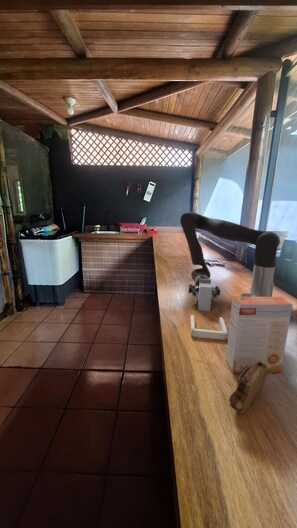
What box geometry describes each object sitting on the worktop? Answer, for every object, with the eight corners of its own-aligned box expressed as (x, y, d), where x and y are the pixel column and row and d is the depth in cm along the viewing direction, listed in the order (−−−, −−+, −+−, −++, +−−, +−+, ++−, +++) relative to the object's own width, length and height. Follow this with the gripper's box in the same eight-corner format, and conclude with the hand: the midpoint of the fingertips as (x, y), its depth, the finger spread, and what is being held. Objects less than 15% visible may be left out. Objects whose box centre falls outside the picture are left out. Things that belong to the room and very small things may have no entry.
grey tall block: (209, 304, 110) (212, 279, 107) (211, 311, 104) (213, 284, 100) (196, 303, 111) (198, 278, 108) (197, 310, 104) (199, 283, 101)
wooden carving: (248, 379, 63) (253, 346, 61) (266, 387, 61) (272, 353, 58) (222, 419, 51) (227, 380, 49) (243, 432, 48) (250, 391, 46)
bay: (222, 323, 93) (222, 317, 92) (227, 340, 82) (227, 333, 81) (190, 320, 95) (190, 314, 94) (190, 336, 83) (191, 330, 83)
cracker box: (269, 360, 72) (281, 295, 66) (281, 373, 66) (294, 304, 61) (224, 359, 71) (232, 295, 66) (231, 373, 65) (240, 303, 60)
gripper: (188, 275, 120) (189, 286, 104) (217, 277, 118) (222, 288, 102) (187, 289, 121) (188, 302, 106) (216, 291, 119) (220, 304, 104)
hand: (205, 295), depth 104 cm, fingers open, 8 cm apart
